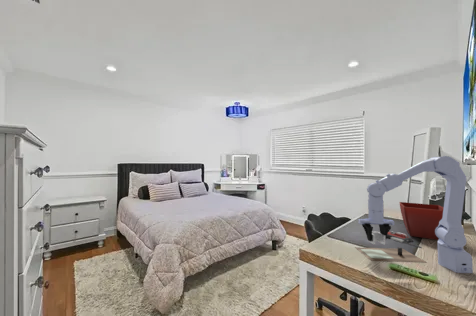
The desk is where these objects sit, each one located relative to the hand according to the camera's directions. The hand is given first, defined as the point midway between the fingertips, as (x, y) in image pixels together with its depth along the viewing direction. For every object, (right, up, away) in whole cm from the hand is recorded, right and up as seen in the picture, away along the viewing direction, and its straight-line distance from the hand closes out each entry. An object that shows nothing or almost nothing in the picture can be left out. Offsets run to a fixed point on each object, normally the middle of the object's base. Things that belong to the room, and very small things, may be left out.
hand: (376, 240), depth 94 cm
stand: (+5, -7, 0) cm, 8 cm away
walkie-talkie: (+25, -8, +17) cm, 31 cm away
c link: (0, -1, 0) cm, 1 cm away
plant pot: (+45, -8, +28) cm, 53 cm away
